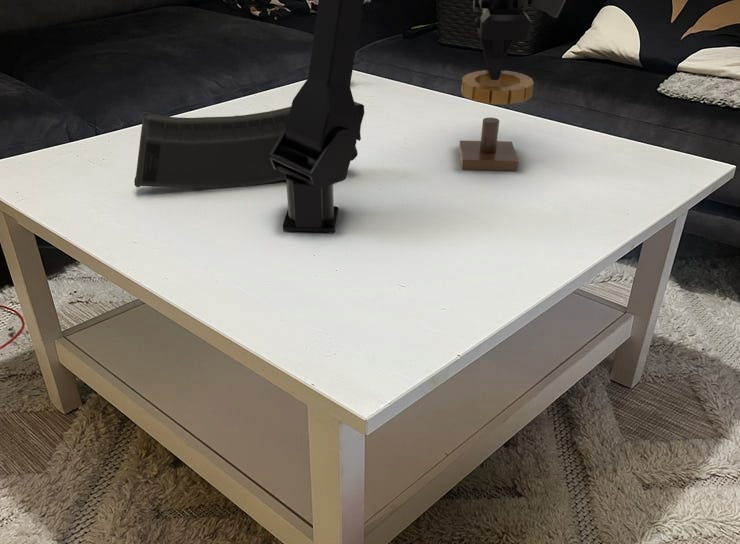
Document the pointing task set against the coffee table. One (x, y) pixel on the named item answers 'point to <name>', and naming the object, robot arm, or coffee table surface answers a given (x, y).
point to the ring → (508, 90)
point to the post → (488, 150)
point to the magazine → (210, 150)
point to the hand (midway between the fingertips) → (494, 77)
